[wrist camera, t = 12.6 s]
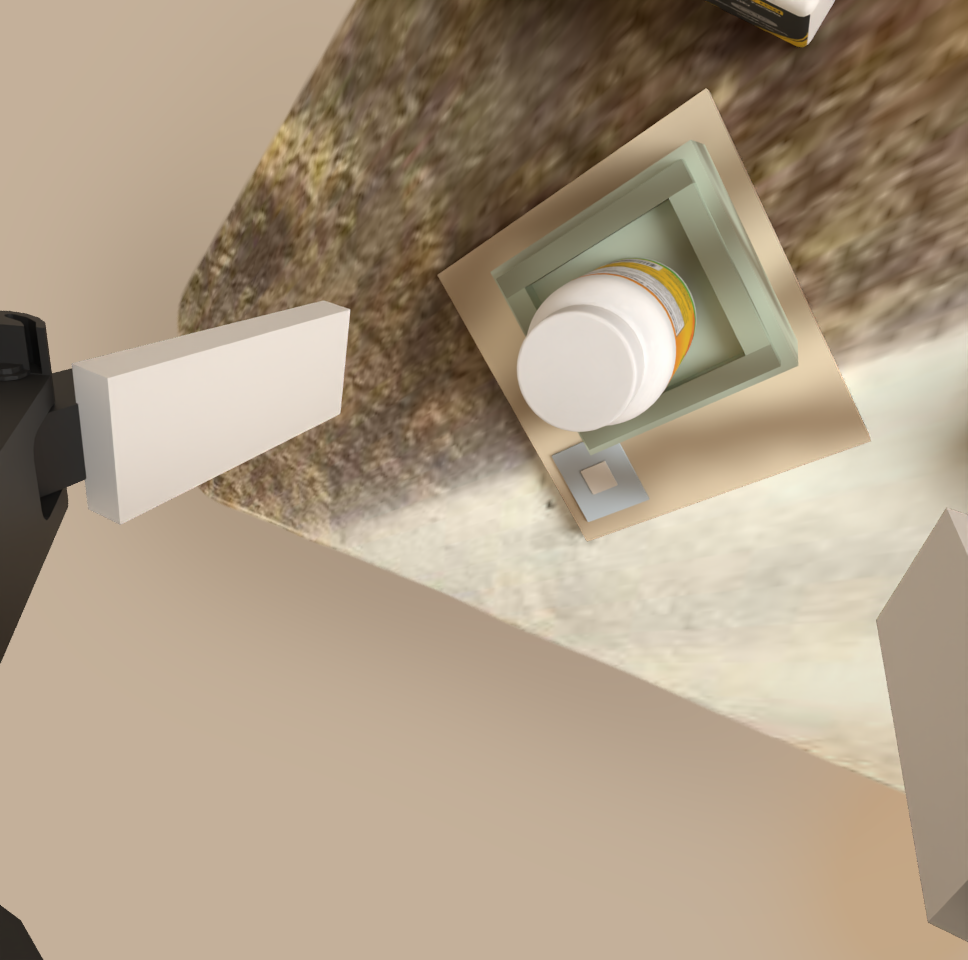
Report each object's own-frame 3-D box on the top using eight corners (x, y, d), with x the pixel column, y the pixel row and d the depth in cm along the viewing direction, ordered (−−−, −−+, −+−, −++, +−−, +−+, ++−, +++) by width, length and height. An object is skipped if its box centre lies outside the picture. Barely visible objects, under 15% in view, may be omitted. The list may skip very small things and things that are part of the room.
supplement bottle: (622, 401, 31) (560, 481, 23) (552, 308, 31) (465, 356, 22) (724, 332, 28) (695, 395, 20) (649, 228, 28) (589, 249, 20)
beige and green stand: (868, 433, 33) (885, 490, 27) (592, 532, 41) (557, 593, 35) (709, 90, 30) (688, 69, 24) (446, 272, 39) (382, 290, 33)
